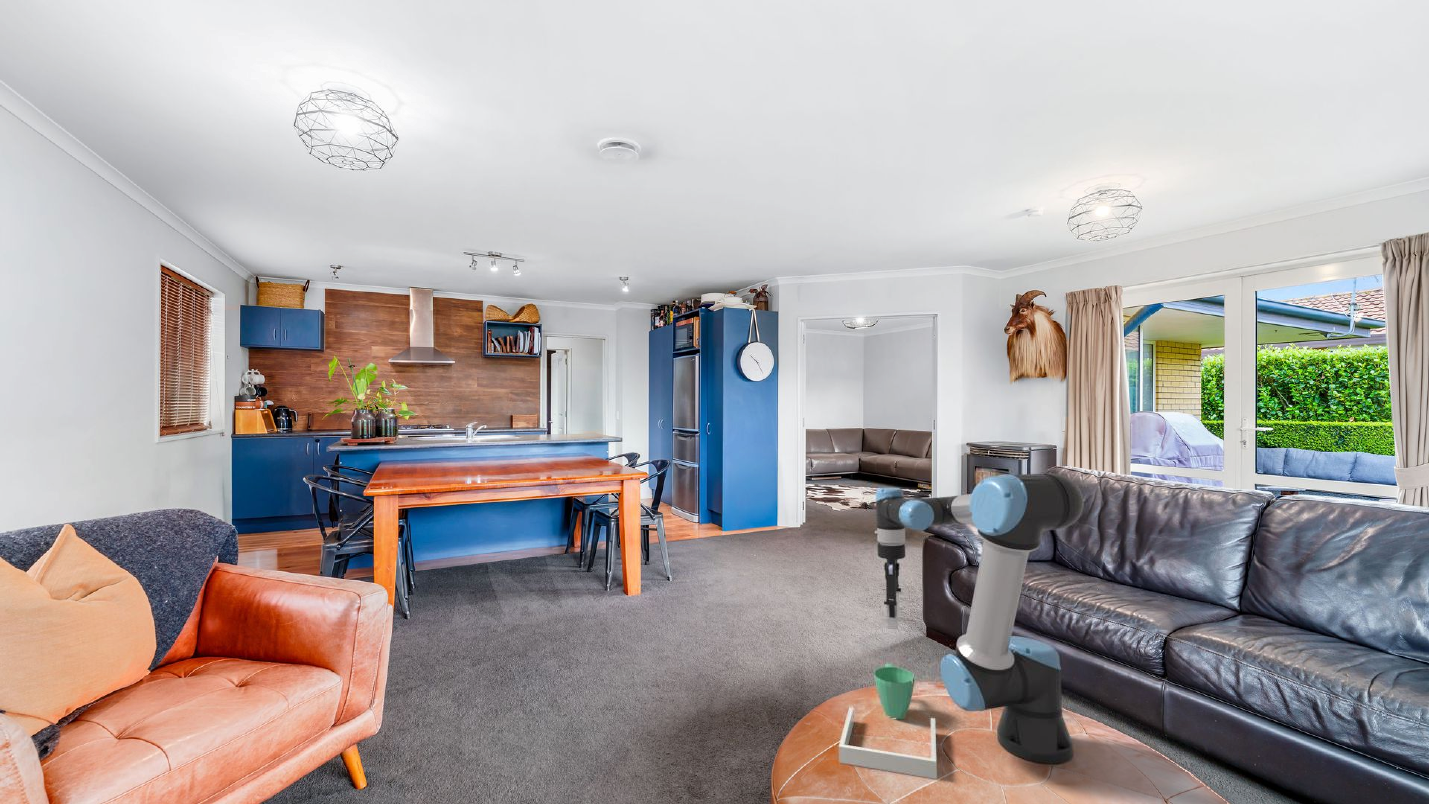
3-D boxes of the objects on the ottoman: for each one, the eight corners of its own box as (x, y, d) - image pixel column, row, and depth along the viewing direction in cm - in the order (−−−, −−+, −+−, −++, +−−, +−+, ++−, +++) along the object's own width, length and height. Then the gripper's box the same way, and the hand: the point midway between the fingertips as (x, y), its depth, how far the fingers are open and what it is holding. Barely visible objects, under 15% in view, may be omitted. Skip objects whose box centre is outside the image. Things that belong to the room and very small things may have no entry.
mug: (919, 725, 144) (918, 683, 145) (878, 723, 145) (877, 682, 146) (907, 697, 159) (906, 660, 159) (870, 696, 160) (869, 659, 160)
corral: (935, 733, 140) (935, 718, 140) (936, 779, 122) (936, 761, 122) (849, 721, 147) (849, 706, 147) (839, 762, 129) (838, 746, 129)
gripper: (880, 534, 179) (882, 608, 178) (874, 551, 157) (876, 634, 156) (906, 536, 177) (908, 610, 176) (903, 552, 154) (906, 637, 154)
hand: (893, 621), depth 166 cm, fingers open, 11 cm apart
